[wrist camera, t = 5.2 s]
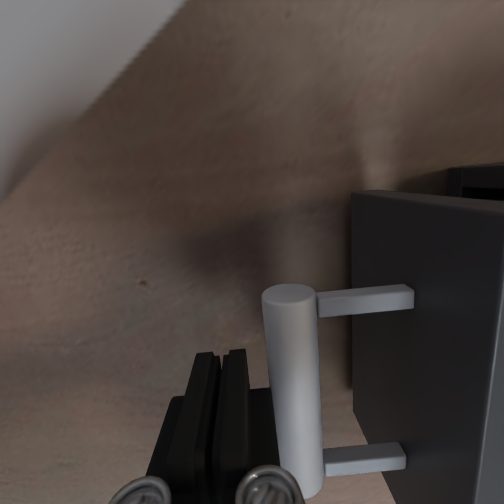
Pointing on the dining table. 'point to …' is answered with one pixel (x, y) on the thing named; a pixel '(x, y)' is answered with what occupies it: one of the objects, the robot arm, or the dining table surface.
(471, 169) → the black cabinet
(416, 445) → the drawer
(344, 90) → the dining table surface
